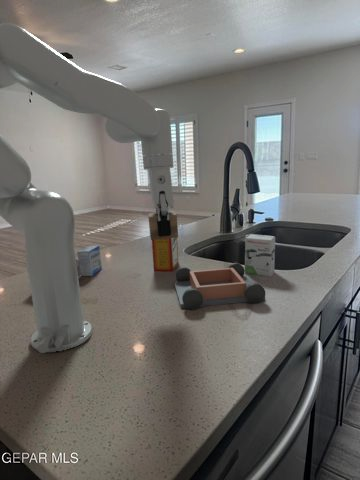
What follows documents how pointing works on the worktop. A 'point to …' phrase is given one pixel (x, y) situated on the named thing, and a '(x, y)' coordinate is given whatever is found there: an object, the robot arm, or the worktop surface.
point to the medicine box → (89, 260)
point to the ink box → (259, 254)
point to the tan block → (154, 227)
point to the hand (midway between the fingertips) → (163, 232)
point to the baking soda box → (165, 254)
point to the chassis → (216, 287)
